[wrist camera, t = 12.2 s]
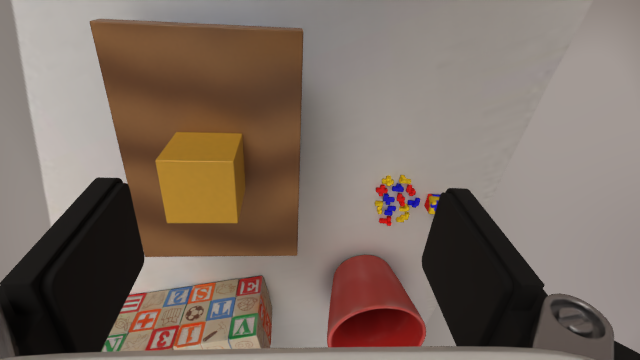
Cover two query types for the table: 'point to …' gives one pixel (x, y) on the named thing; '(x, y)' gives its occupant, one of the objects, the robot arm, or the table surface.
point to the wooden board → (208, 124)
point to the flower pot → (371, 307)
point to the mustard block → (202, 177)
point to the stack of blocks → (195, 318)
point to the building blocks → (402, 200)
